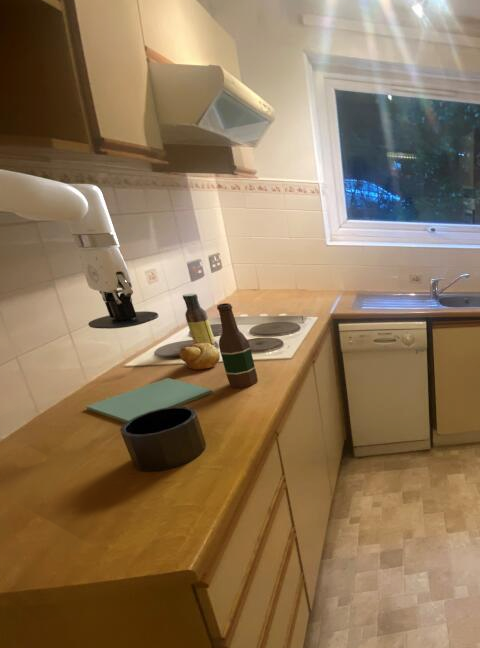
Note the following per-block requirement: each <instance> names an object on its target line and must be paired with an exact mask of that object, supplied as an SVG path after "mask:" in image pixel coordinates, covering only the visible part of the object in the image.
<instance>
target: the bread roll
mask: <svg viewBox="0 0 480 648" xmlns="http://www.w3.org/2000/svg"><path fill="white" fill-rule="evenodd" d="M178 355H179V357H180V359H181V360H182V362H184V363H185V364H186V366H187V368H189V369H191V370H206V369H210V368H213V367H215V366H216V365H217V364H218V363H219V361H220V358H221V357H220V356H221V354H220V351H219V349H218V348H217V346H216V347H215V346H214V345H211V344H209V343H197V344H194V343H193V344H192V345H190V346H184V347H182V348H181V349H180V350H179V351H178Z"/></svg>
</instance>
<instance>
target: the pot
mask: <svg viewBox="0 0 480 648" xmlns="http://www.w3.org/2000/svg"><path fill="white" fill-rule="evenodd" d="M201 426H202V425H201V423H200V420H199V417H198V414H197V412H196V409H195V408H192V407H189V406H179V407H169V408H162V409H158V410H154V411H150V412H147V413H145V414H142V415H140V416H137V417H135V418H133V419H131V420H129V421H128V422H126V423H125V422H124V424H123V425H122V426H121V427H120V429H119V430H120V434H121V437H122V440H123V442H124V444H125V448H126V450H127V452H128V454H129V457H130V459H131V462H132V465H133V467H134V469H136V470H137V471H139V472H145V473H157V472H162V471H167V470H171V469H175V468H178V467H180V466H183V465H186V464H188V463H190V462H192V461H194V460H195V459H197V458H198V457H200V456H201V455H202V454H203V453H204V452H205V450H206V448H207V443H206V440H205V436H204V434H203V433H204V432H203V430H202V427H201Z"/></svg>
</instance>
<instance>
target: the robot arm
mask: <svg viewBox="0 0 480 648" xmlns="http://www.w3.org/2000/svg"><path fill="white" fill-rule="evenodd" d="M0 212H5V213H13V214H15V215H16V216H18V217H21V218H23V219H26V220H31V221H37V222H66V224H67V225H68V228H69V231H70V234H71V237H72V239H73V242H74V245H75V247H76V250H78V256H79V259H80V264H81V268H82V270H83V273H84V276H85V279H86V283H87V286H88V288H90V289H92V290H93V291H98V292H99V294H100V295H101V298H102V300H103V302H104V304H105V307H106V310H107V312H108V316H109V315H110V317H111V318H114V316H113V313H112V310H111V308H110V305H109V302H108V301H111V300H116V302H117V304H115V305H116V308H117V311H118V313H119V316H120V319H121V320H126V319H131V318H135V317H136V313H135V312H136V310H135V307H134V304H133V298H132V295H133V293H134V290H133V281H132V277H131V274H130V271H129V269H128V267H127V264H126V262H125V260H124V257H123V255H122V253H121V251H120V249H119V247H120V248H121V245H120V242H119V240H118V235H117V233H116V231H115V228H114V225H113V222H112V218H111V216H110V212H109V210H108V207H107V203H106V201H105V198H104V195H103V192H102V190H101V189H100V188H99V187H98V186H97V185H95V184H90V183H65V182H62V181H59V180H55V179H54V180H53V179H49V178H45V177H40V176H36V175H32V174H28V173H23V172H17V171H11V170H7V169H1V168H0Z"/></svg>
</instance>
